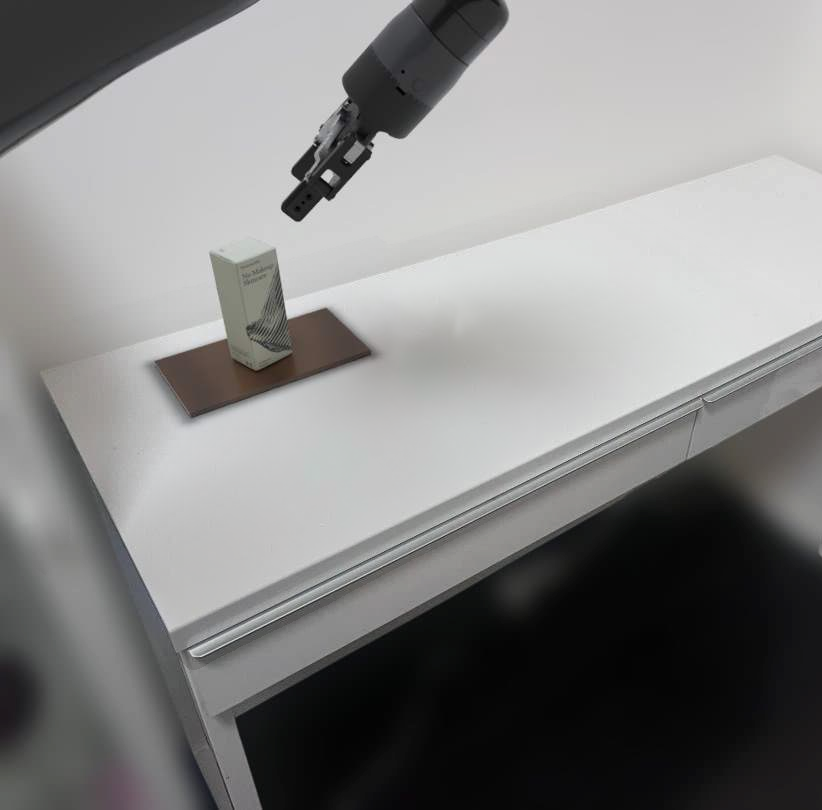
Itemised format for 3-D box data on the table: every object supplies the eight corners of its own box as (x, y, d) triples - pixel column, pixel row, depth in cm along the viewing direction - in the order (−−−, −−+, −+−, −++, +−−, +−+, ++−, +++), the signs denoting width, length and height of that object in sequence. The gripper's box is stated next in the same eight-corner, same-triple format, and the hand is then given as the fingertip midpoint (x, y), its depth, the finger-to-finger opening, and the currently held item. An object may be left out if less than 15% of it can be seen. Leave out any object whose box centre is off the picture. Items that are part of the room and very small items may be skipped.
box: (256, 373, 85) (233, 264, 77) (230, 358, 87) (204, 250, 79) (296, 352, 89) (277, 245, 81) (269, 338, 91) (249, 232, 83)
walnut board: (190, 417, 80) (189, 413, 80) (155, 365, 87) (153, 360, 86) (371, 354, 90) (370, 349, 90) (326, 311, 97) (326, 307, 96)
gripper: (375, 21, 76) (270, 142, 81) (371, 63, 65) (249, 201, 70) (435, 79, 80) (330, 192, 85) (440, 128, 69) (319, 254, 74)
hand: (293, 196), depth 78 cm, fingers open, 8 cm apart
